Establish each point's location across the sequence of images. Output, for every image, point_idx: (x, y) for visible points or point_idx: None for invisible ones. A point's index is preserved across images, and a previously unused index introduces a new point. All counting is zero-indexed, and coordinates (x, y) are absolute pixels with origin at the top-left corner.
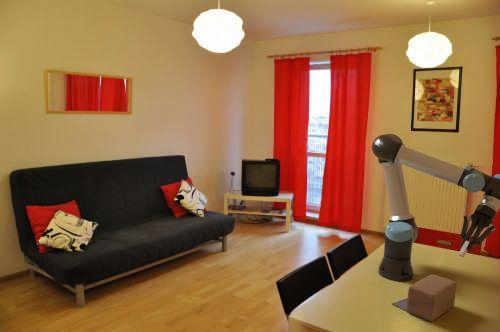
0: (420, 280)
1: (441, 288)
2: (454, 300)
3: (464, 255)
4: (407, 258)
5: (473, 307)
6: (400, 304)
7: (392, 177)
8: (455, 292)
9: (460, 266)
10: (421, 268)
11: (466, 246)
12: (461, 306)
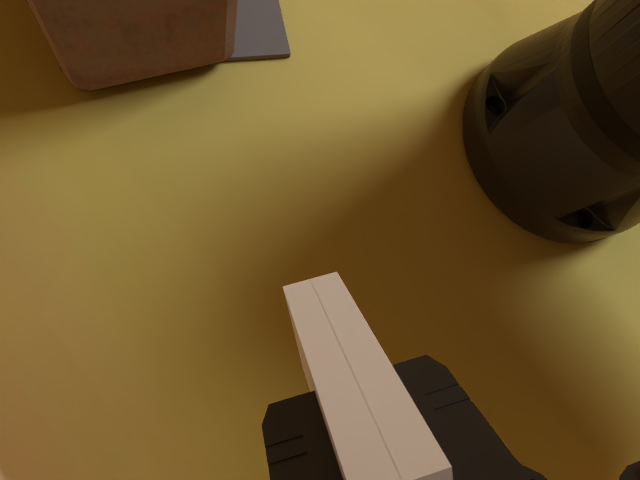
0: None
1: None
2: (57, 59)
3: (306, 379)
4: (587, 66)
5: (16, 214)
6: None
7: None
8: (38, 22)
9: None
10: (624, 397)
11: (322, 387)
12: (64, 151)
